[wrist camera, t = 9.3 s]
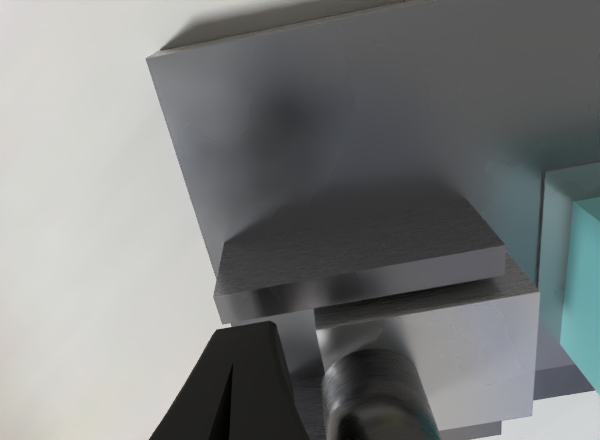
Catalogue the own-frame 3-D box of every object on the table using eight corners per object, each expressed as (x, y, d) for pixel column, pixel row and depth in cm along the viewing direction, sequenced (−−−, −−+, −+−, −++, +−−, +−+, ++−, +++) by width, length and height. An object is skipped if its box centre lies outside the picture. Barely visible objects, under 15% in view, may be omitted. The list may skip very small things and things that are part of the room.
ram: (490, 345, 14) (604, 539, 9) (324, 373, 15) (348, 577, 10) (492, 234, 13) (632, 400, 8) (301, 268, 13) (317, 451, 8)
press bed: (739, 337, 17) (849, 422, 13) (269, 414, 17) (267, 512, 14) (881, -95, 11) (1141, -128, 7) (157, 51, 11) (111, 79, 8)
